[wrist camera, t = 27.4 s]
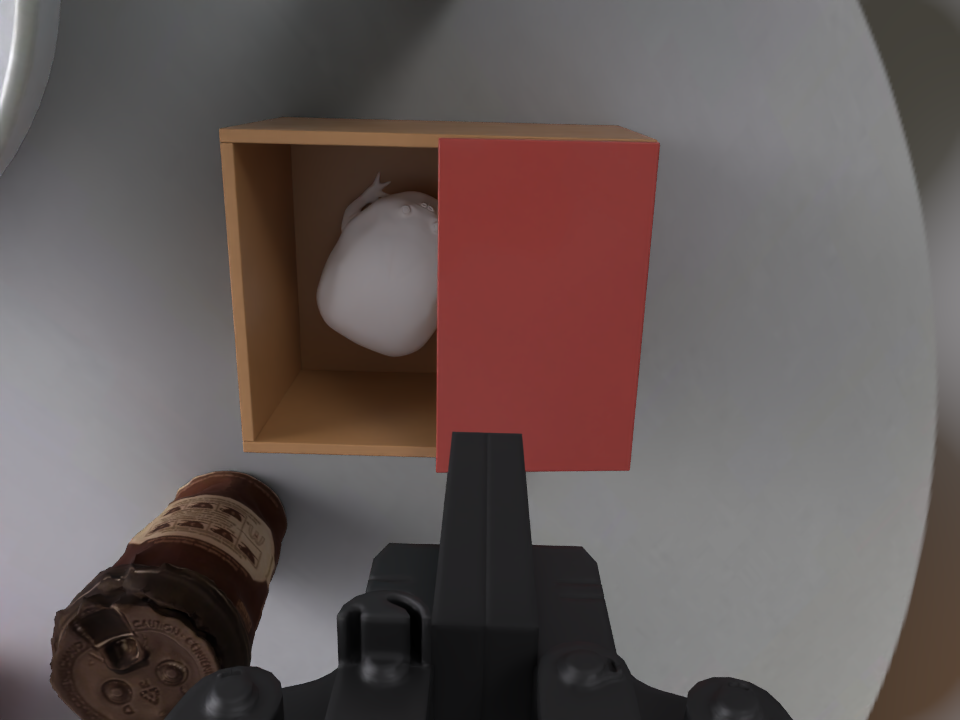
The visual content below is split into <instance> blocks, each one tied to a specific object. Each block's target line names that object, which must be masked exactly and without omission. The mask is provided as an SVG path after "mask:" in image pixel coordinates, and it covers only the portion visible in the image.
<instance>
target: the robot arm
mask: <svg viewBox="0 0 960 720" xmlns="http://www.w3.org/2000/svg"><path fill="white" fill-rule="evenodd" d="M337 635H338V661H339V665H338V668H337V669H336V670H334V671H333V672H332V673H330V674H328V675H326V676H324V677H322V678H320V679H318V680H314V681H311V682H307V683H304V684H299V685H294V686H290V687H285V688H281V683H280V681H279V680H278V679H277V678H276V677H275V676H274V675H273V674H272V673H271V672H269V671H266V670H264V669H261V668H259V667H251V666H236V667H231V668H226V669H221V670H218V671H216V672H214V673H212V674H210V675H208V676H205V677H203V678H202V679H201V680H200V681H198V682H197V683H196V684H195V685H194V686H193V687H191V688H190V689H189V690H188V691H187V693H186V694H185V695H184V696H183V697H182V698H181V700H180V701H179V702H178V703H177V704H176V706H175V707H174V708H173V709H172V710H171V711H170V713H169V714H168V715H167V716H166V717H165V719H164V720H793V719H792V718H791V717H790V715H789V714H788V713H787V712H786V710H785V709H784V708H783V707H782V705H781V704H780V703H779V702H778V701H777V700H776V699H775V698H774V697H772V696H771V695H770V694H769V693H768V692H767V691H765V690H763V689H761V688H760V687H758V686H756V685H754V684H752V683H750V682H747V681H743V680H739V679H735V678H731V677H712V678H709V679H706V680H703V681H700V682H698V683H697V684H696V685H695V686H694V687H692V688H691V689H690V690H689V692H688V697H683V696H679V695H675V694H672V693H668V692H664V691H661V690H658V689H655V688H653V687H650V686H648V685H646V684H644V683H642V682H641V681H639V680H637V679H636V678H635V677H633V676H632V675H631V673H630V671H629V669H628V667H627V665H626V663H625V661H624V660H623V659H622V658H621V657H620V656H618V655H617V653H616V649H615V644H614V639H613V635H612V630H611V626H610V621H609V617H608V612H607V607H606V603H605V599H604V594H603V589H602V584H601V580H600V575H599V571H598V566H597V562H596V561H595V560H594V559H593V558H592V557H591V556H590V555H589V554H588V553H587V552H586V550H585V549H584V548H583V547H581V546H545V545H532V541H531V530H530V519H529V507H528V496H527V484H526V473H525V461H524V450H523V438H522V434H520V433H483V432H452V439H451V448H450V457H449V466H448V475H447V484H446V493H445V502H444V512H443V521H442V530H441V539H440V545H438V544H402V543H389V544H388V545H387V546H386V547H385V548H384V549H383V550H382V551H381V552H380V553H379V554H378V555H377V556H376V557H375V558H374V559H373V563H372V568H371V572H370V576H369V580H368V584H367V588H366V593H365V594H362V595H359V596H356V597H354V598H353V599H352V600H350V601H349V602H347V603H346V604H344V605H343V607H342V608H341V610H340V612H339V613H338V615H337Z"/></svg>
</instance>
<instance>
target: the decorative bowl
mask: <svg viewBox="0 0 960 720" xmlns="http://www.w3.org/2000/svg"><path fill="white" fill-rule="evenodd" d="M60 5H61V0H0V177H1V175H2V174H3V172H4V171H5V169H6V168H7V166H8V165H9V163H10V162H11V160H12V159H13V157H14V156H15V154H16V153H17V151H18V149H19V147H20V145H21V143H22V142H23V140H24V138H25V136H26V134H27V132H28V131H29V129H30V126H31V124H32V122H33V120H34V117H35V115H36V113H37V110H38V108H39V106H40V103H41V100H42V97H43V94H44V91H45V88H46V85H47V82H48V79H49V75H50V71H51V67H52V63H53V59H54V54H55V48H56V41H57V35H58V29H59V17H60Z"/></svg>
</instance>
